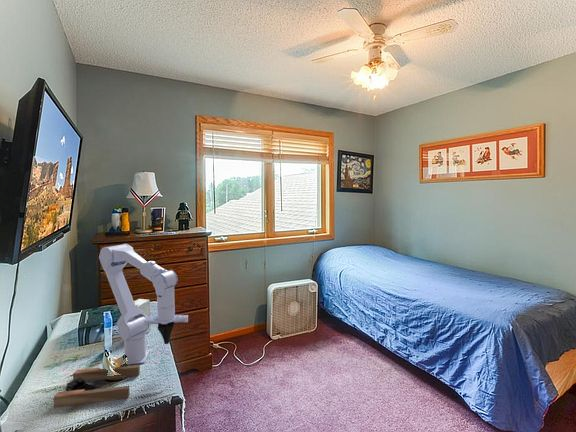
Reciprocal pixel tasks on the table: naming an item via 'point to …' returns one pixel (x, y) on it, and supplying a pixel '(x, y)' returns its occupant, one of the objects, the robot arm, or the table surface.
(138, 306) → the skincare box
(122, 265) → the robot arm
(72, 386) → the black piece
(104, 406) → the table surface
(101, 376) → the walled channel
